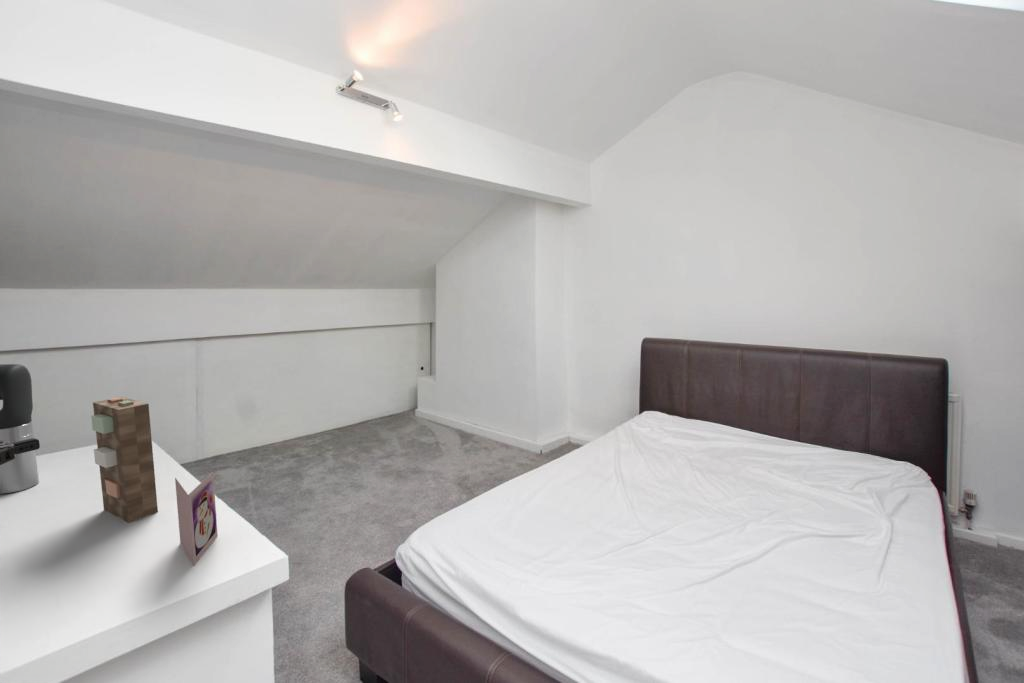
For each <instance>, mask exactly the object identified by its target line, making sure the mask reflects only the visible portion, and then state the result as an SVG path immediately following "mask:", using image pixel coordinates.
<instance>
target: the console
mask: <svg viewBox="0 0 1024 683" xmlns="http://www.w3.org/2000/svg"><path fill="white" fill-rule="evenodd" d="M149 405H150V404H149V403H147V402H143V401H140V400H135V399H131V398H127V397H124V396H123V397H114V398H108V399H104V400H100V401H93V402H92V406H93V407H92V408H93V416H94V415H99V414H106V415H110V416H113V425H114V432H110V433H106V434H102V433H100V432H97V431H95V436H96V445H97V449H98V448H102V447H109V448H112V449H114V450H116V456H117V465H115V466H112V467H108V468H105V467H103V466H100V465H99V474H100V483H101V484H100V485H101V494H102V504H103V511H104V512H107V513H109V514H110V515H112V516H115V517H117V518H119V519H121V520H123V521H125V522H127V523H132V522H135V521H137V520H140V519H143V518H145V517H147V516H151V515H154V514H156V513H159V510H158V499H157V488H156V487H157V486H156V475H155V462H154V452H153V440H152V430H151V417H150V406H149ZM107 479H111V480H113V481H115V482H118V483H119V487H120V497H121V498H118V499H117V498H115V497H113V496H111V495H109V494H107V493H106V483H105V480H107Z"/></svg>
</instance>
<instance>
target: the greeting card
mask: <svg viewBox="0 0 1024 683" xmlns="http://www.w3.org/2000/svg"><path fill="white" fill-rule="evenodd" d="M214 478H215V477H214V472H213V471H212V472H211V473H210V474H209V475H208V476H207V477H205V478H204V480H202V481H201V482H200V483H199V484H198V485H197V486H196V487H194V489H193V490H191V492H189V493H188V492H187V491H186V490H185V489H184V487H183V486H182V484H181V483H180V482H179V480H178V479H177V477H174V481H175V482H174V483H175V493H176V505H177V506H176V507H177V508H176V509H177V518H178V519H177V520H178V529H179V531H178V532H179V543H180V545H181V547H182V549H183V551H184V553H185V554H186V556H187V558H188V560H189V561H190V563H191V564H192V566H193V567H195V566H196V564H197V563H198V562H199V560H200V559H201V558H202V557H203V555H204V554H205V552H207V550H209V548H210V546H212V544H213V543H214V542H215V540H216V539H217V538H218V535H219V534H218V525H217V524H218V523H217V509H216V495H215V494H216V493H215V481H214Z"/></svg>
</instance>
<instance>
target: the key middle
mask: <svg viewBox="0 0 1024 683" xmlns="http://www.w3.org/2000/svg"><path fill="white" fill-rule="evenodd" d="M93 454H94V464H95V465H100V466H103V467H105V468H108V467H112V466H115V465H117V456H116V450H114V449H112V448H109V447H102V448H98V447H97V448H95V449H93Z"/></svg>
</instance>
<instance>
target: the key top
mask: <svg viewBox="0 0 1024 683" xmlns="http://www.w3.org/2000/svg"><path fill="white" fill-rule="evenodd" d="M90 417H91V426H92V431H94V432H96V431H97V432H100V433H102V434H106V433H110V432H114V425H113V416H110V415H106V414H99V415H94V414H93V415H91V416H90Z"/></svg>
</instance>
